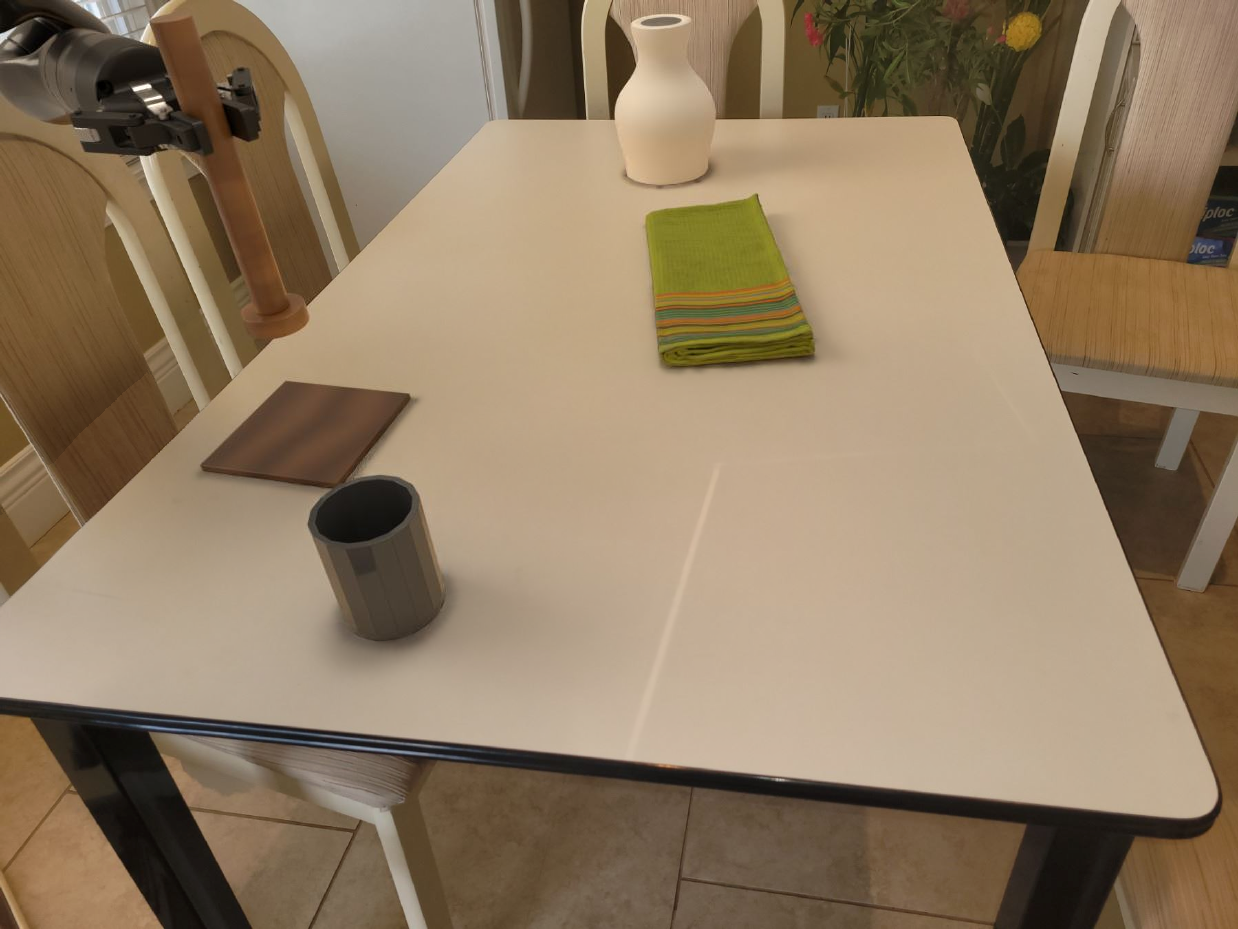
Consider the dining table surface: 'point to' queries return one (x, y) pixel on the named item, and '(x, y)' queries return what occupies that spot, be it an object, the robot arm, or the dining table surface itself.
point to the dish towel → (722, 286)
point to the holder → (378, 556)
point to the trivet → (308, 434)
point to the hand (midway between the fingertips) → (227, 131)
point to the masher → (228, 181)
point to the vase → (664, 106)
